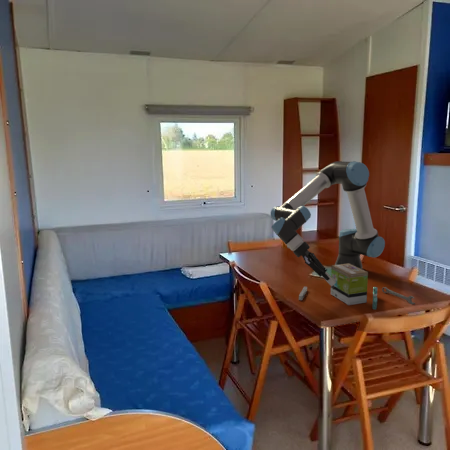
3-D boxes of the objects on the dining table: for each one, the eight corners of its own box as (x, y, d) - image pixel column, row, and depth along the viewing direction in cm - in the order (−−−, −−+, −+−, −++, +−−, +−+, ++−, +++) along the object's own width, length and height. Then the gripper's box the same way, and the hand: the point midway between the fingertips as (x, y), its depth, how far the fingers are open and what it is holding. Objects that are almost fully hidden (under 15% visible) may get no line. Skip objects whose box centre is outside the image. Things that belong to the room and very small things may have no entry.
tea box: (329, 294, 199) (330, 264, 196) (348, 292, 202) (349, 262, 199) (348, 305, 185) (349, 273, 182) (367, 303, 188) (369, 271, 185)
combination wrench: (381, 285, 202) (413, 298, 183) (384, 285, 202) (416, 297, 184) (381, 293, 203) (413, 306, 184) (383, 292, 203) (415, 305, 184)
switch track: (304, 289, 206) (304, 280, 205) (377, 297, 195) (377, 287, 194) (298, 300, 191) (298, 290, 190) (376, 309, 180) (377, 298, 179)
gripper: (295, 248, 202) (329, 284, 200) (289, 254, 190) (325, 293, 188) (306, 238, 200) (341, 275, 197) (301, 243, 188) (338, 283, 185)
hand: (333, 284), depth 192 cm, fingers closed
